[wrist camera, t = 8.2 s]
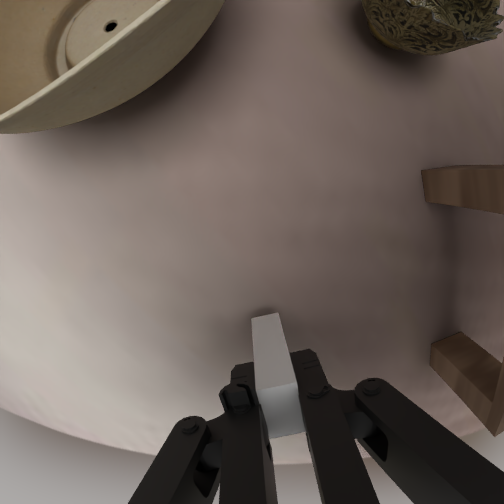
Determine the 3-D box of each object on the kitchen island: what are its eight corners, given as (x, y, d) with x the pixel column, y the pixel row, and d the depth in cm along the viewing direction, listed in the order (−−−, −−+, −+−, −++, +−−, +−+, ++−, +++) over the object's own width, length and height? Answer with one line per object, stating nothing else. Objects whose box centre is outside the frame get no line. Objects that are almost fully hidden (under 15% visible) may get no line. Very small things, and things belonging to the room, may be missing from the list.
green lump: (451, 54, 15) (522, 19, 8) (391, 98, 16) (469, 60, 8) (383, -22, 14) (430, -81, 6) (312, 11, 15) (347, -66, 7)
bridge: (454, 165, 17) (559, 166, 8) (459, 352, 20) (526, 414, 11) (421, 170, 17) (529, 170, 8) (429, 365, 20) (494, 437, 11)
